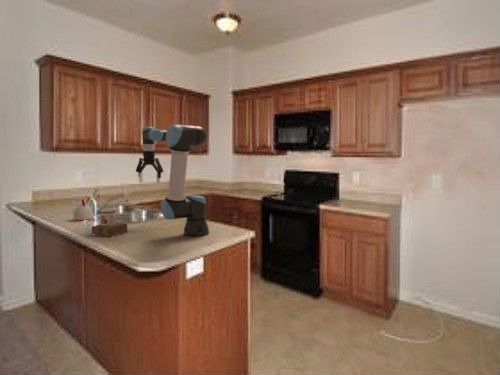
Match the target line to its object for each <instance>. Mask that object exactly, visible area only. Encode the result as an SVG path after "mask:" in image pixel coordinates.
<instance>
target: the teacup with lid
mask: <svg viewBox="0 0 500 375" xmlns="http://www.w3.org/2000/svg"><path fill="white" fill-rule="evenodd" d="M116 212H117V211H116V209H115V208H112V207H110V205H105V207H104V208H102V209H100V210H99V217H100V218H99V220H100V221H99V223H100V224H99V225H101V226H113V225H116V223H117V220H116V218H117V217H116V216H117V214H116Z"/></svg>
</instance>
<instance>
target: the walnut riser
mask: <svg viewBox="0 0 500 375" xmlns="http://www.w3.org/2000/svg"><path fill="white" fill-rule="evenodd" d="M125 233H128V224H127V223H123V222H122V223H121V222H120V223H119V222H116V225H113V226H101V224H97V225H94V226H91V235H92V234H95V235H102V236H101V237H104V236H110V237H109V238H113V237H115V235H116V236H119V235H123V234H125ZM118 234H119V235H118ZM95 235H94V236H95ZM112 236H113V237H112Z"/></svg>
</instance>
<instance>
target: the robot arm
mask: <svg viewBox="0 0 500 375" xmlns="http://www.w3.org/2000/svg"><path fill="white" fill-rule="evenodd" d="M141 134H142V135H141V136H142V137H141V138H142V157H139V159H138V164H137V167H136V168H135V172H136V173H138V178H139V180H138V181H139V183H143V182H144V179H143V178H144V174H143V173H144V172H143V171H144V170H145V168H146V167H147V166H152V167H153V169H154V170H155V171H156V184H161V178H162V173H164V169H163V167H162V165H161V162H160V159H159V157H156V152H155V150H156V148H155V145H156V144H155V142H165V144H166V146H167V147H168V149H169V150H170V152H171V158H170V170H169V182H168V193H167V194H165V197H164V199H162V200H161V202H160V210H161V214H162V216H163V217H164V219H165V220H168V221H169V220H172V221H173V220H179V219H185V218H186V222H185V226H184V228H183V234H184V236H187V237H188V236H190V237H201V236H207V235H209V233H210V230H209V225H208V223H207V202H206V196H202V195H195V194H194V195H193V194H186V195H185V186H186V174H187V166H188V165H187V164H188V156H189V153H190V152H191V150H192V148H197V147H198V148H199V147H201V146H204V145H205V144H206V143H207V141H208V138H209V137H208V132H207V130H206V129H205V128H203V127H201V126H199V125H188V124H172V125H170V126H169V127H168V128H167V129H160V128H159V129H158V128H154V127H152V126H143V127H142V131H141ZM155 157H156V158H155Z"/></svg>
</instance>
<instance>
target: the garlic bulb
mask: <svg viewBox="0 0 500 375" xmlns="http://www.w3.org/2000/svg"><path fill="white" fill-rule="evenodd" d="M94 216H95V211H94V210H93V209H92V208H91V207H90V206H89V205H88V204H86V203H85V199H81V204H80V205H78V206H77V207H76V209H75V210H74V211H73V217H72V218H73V220H75V221H84V220H90V219H93V218H94Z"/></svg>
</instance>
